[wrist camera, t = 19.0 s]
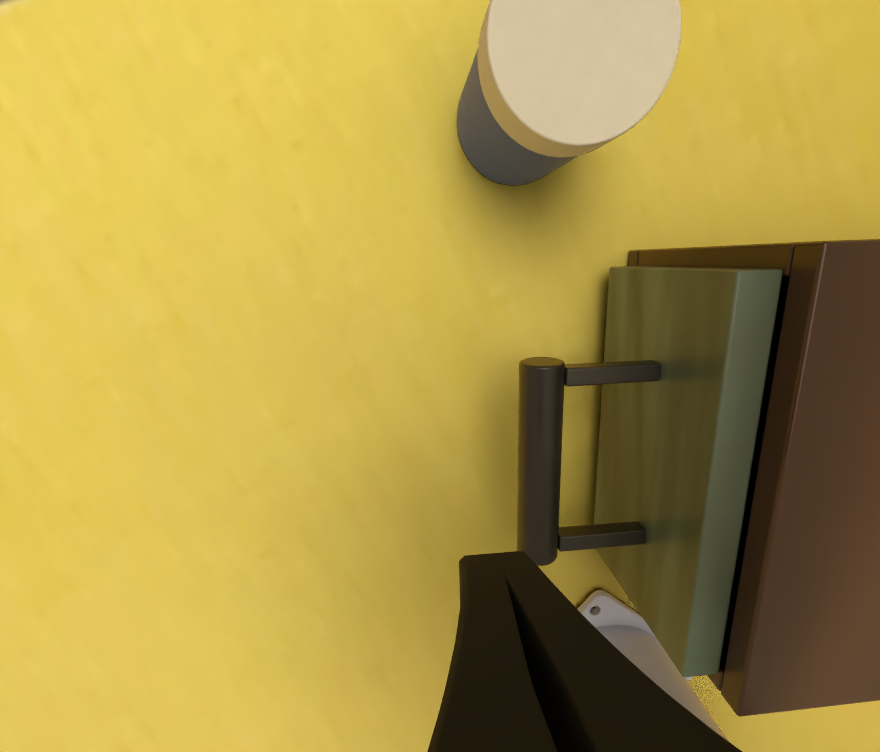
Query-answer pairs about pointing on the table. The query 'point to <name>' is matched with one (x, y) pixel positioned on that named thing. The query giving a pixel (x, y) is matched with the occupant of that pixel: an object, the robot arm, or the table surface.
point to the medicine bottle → (562, 80)
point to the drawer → (663, 445)
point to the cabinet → (809, 486)
